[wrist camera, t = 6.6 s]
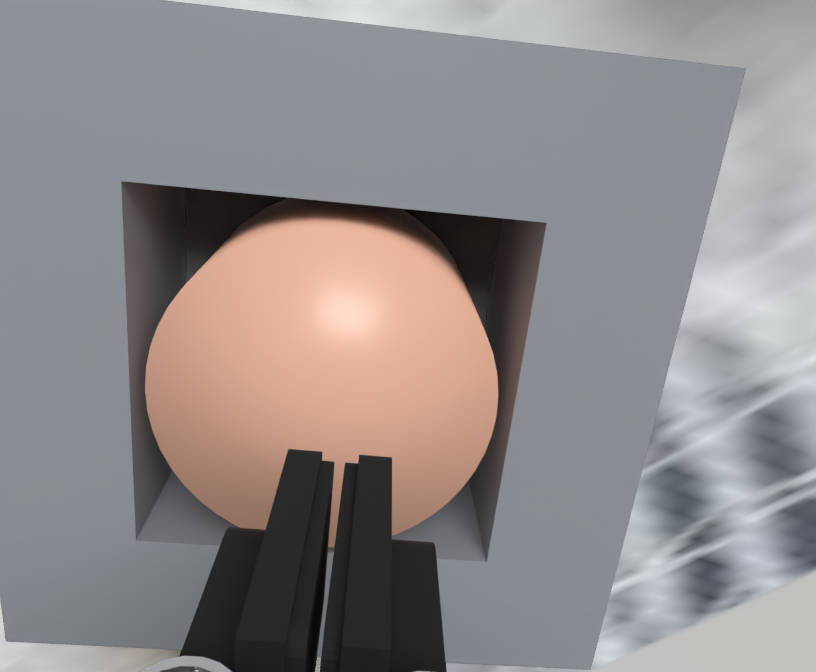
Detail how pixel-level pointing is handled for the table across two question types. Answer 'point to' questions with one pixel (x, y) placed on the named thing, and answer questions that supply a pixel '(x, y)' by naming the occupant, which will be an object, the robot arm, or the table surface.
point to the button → (323, 361)
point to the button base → (345, 183)
